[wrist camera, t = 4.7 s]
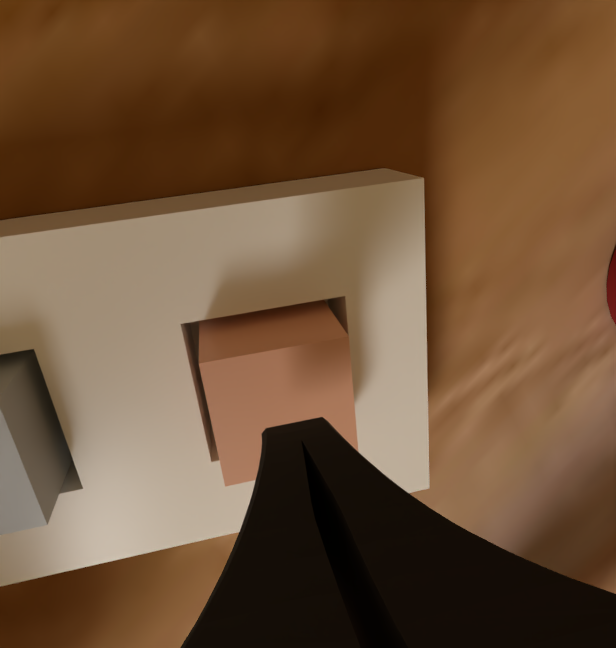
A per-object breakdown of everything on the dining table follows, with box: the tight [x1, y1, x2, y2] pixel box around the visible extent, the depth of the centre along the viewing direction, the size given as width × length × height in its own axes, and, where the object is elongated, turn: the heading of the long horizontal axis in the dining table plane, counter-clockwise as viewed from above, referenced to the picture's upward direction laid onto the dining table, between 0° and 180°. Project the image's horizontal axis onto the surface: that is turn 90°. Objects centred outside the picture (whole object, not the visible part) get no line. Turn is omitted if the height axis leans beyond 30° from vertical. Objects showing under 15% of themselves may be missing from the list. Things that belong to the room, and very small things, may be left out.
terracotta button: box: [199, 300, 358, 487], centre depth 14 cm, size 4×4×3 cm
